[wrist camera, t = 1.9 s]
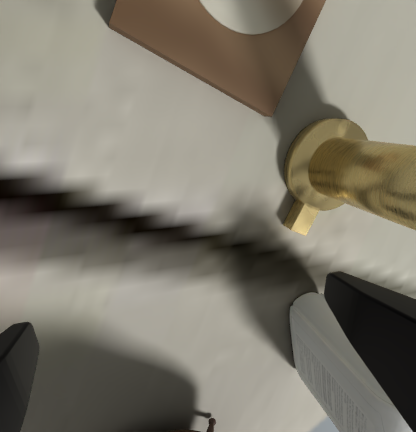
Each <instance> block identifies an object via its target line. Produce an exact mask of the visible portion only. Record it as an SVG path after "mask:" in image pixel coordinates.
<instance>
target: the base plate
mask: <svg viewBox="0 0 416 432" xmlns="http://www.w3.org/2000/svg"><path fill="white" fill-rule="evenodd" d="M325 1H326V0H117V1H116V4H115V7H114V10H113V13H112V16H111V19H110V22H109V28H110V29H112V30H114V31H116V32H117V33H119V34H121V35H123V36H124V37H126V38H128V39H130V40H132V41H133V42H135V43H137V44H139V45H140V46H142V47H144V48H146V49H147V50H149V51H151V52H153V53H154V54H156V55H158V56H160V57H161V58H163V59H165V60H167V61H168V62H170V63H172V64H174V65H175V66H177V67H179V68H181V69H182V70H184V71H186V72H188V73H189V74H191V75H193V76H195V77H196V78H198V79H200V80H202V81H203V82H205V83H207V84H209V85H211V86H212V87H214V88H216V89H218V90H219V91H221V92H223V93H225V94H226V95H228V96H230V97H232V98H233V99H235V100H237V101H239V102H240V103H242V104H244V105H246V106H247V107H249V108H251V109H253V110H254V111H256V112H258V113H260V114H261V115H263V116H268V117H272V115H273V113H274V111H275V109H276V107H277V104H278V102H279V100H280V98H281V96H282V94H283V92H284V89H285V87H286V85H287V83H288V81H289V79H290V77H291V74H292V72H293V70H294V68H295V66H296V64H297V61H298V59H299V57H300V55H301V53H302V51H303V49H304V46H305V44H306V42H307V40H308V38H309V36H310V34H311V31H312V29H313V27H314V25H315V23H316V21H317V18H318V16H319V14H320V12H321V10H322V8H323V6H324V3H325Z"/></svg>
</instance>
